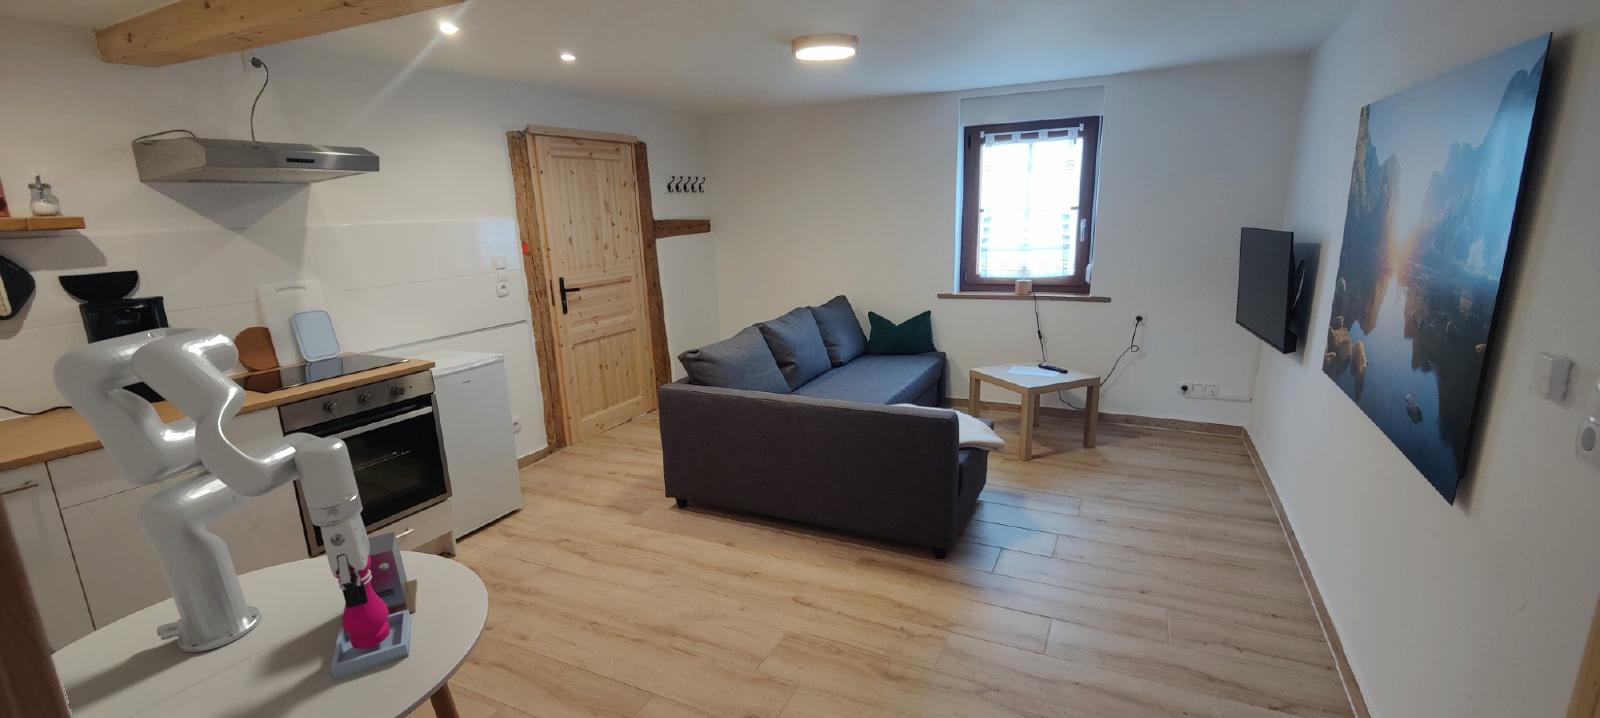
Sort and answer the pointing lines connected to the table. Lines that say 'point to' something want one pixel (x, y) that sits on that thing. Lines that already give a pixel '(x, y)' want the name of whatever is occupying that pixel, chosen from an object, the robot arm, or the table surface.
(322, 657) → the table surface
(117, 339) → the robot arm
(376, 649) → the parts tray
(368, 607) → the pepper mill
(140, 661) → the table surface
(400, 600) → the control unit
